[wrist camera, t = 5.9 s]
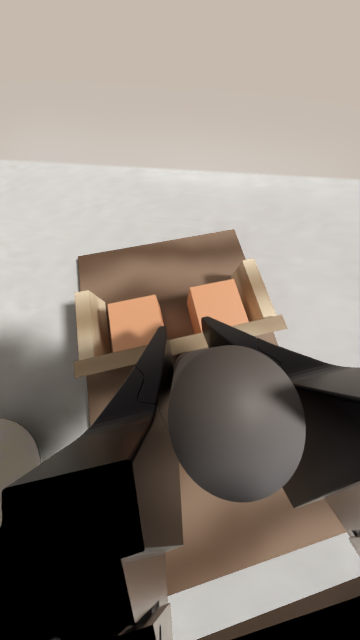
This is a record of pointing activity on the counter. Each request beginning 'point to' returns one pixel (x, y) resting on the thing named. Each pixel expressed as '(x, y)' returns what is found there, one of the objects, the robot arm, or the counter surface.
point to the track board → (172, 293)
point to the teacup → (15, 454)
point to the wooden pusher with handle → (218, 397)
